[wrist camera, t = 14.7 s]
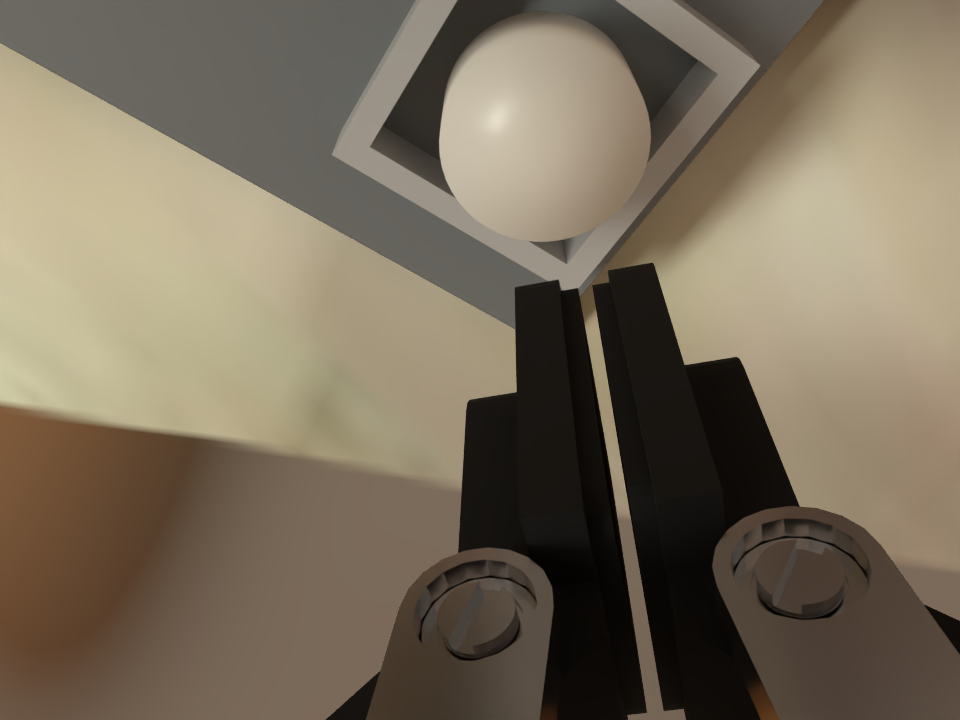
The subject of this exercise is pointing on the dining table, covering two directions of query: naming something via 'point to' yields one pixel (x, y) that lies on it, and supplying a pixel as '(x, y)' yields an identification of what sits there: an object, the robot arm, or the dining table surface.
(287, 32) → the picture board
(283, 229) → the dining table surface
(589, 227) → the button
